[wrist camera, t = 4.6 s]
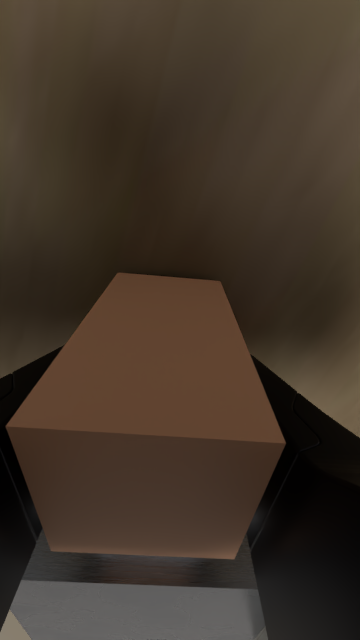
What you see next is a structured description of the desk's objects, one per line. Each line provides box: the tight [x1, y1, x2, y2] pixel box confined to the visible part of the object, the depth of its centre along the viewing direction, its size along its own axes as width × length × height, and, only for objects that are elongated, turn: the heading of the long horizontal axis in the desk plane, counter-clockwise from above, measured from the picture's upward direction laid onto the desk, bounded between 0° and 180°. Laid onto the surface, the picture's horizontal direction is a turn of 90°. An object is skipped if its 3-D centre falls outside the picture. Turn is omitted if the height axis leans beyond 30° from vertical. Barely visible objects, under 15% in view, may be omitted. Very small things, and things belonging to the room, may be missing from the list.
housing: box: [10, 528, 265, 640], centre depth 13 cm, size 10×8×7 cm
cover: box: [6, 273, 286, 559], centre depth 10 cm, size 4×12×7 cm, turn 175°
